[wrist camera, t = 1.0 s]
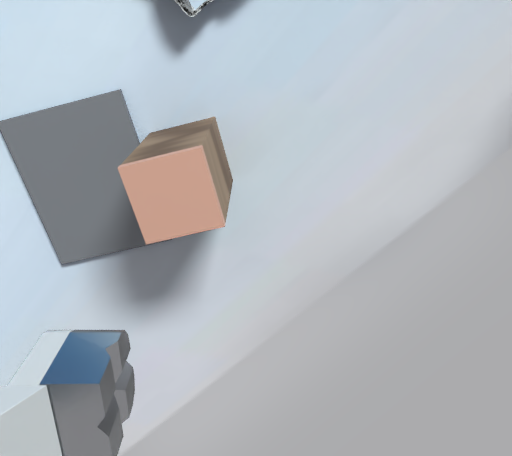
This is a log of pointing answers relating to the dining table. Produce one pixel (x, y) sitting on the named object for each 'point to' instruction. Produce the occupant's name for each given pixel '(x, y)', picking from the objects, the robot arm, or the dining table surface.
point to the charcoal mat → (78, 173)
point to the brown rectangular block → (178, 181)
